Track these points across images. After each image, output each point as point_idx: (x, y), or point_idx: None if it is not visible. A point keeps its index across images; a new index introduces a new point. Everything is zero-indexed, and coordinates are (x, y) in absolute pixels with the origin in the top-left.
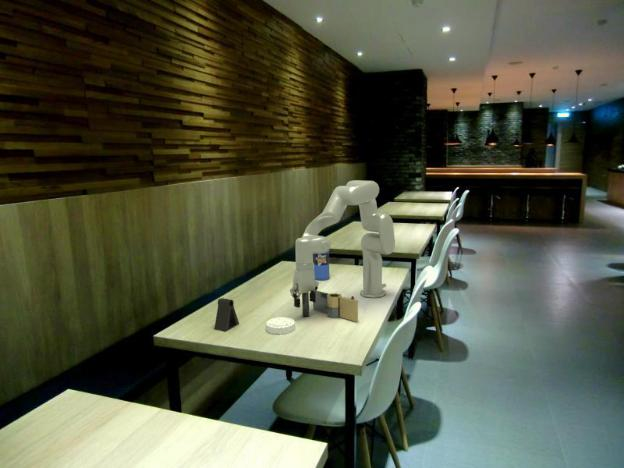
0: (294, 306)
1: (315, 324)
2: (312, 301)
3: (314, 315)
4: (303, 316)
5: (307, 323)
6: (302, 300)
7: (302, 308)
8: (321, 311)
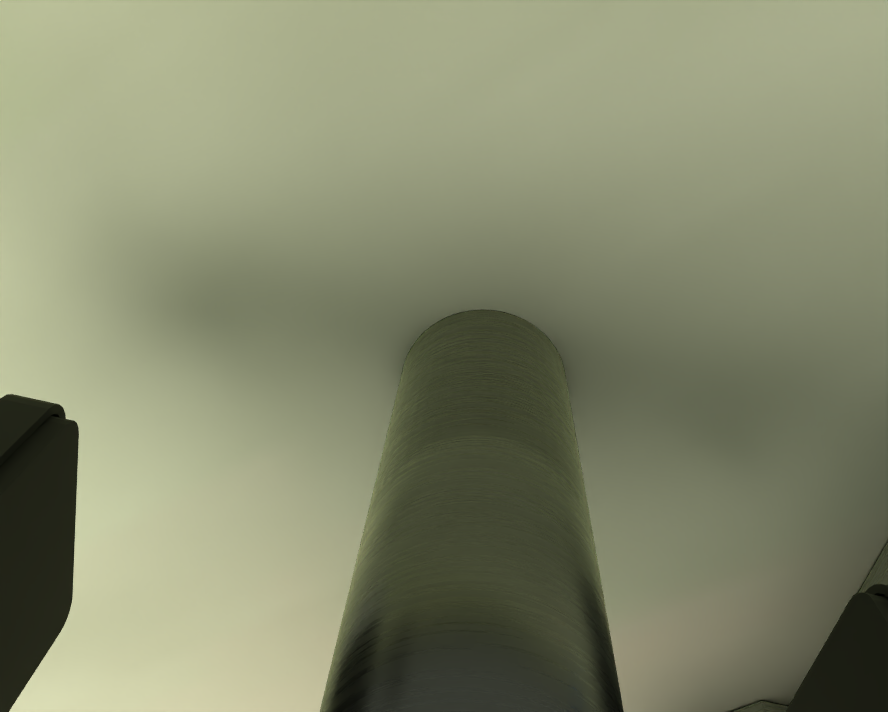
0: (18, 400)
1: (203, 704)
2: (800, 709)
3: (628, 514)
4: (401, 377)
5: (157, 581)
6: (333, 679)
7: (390, 456)
8: (884, 575)
